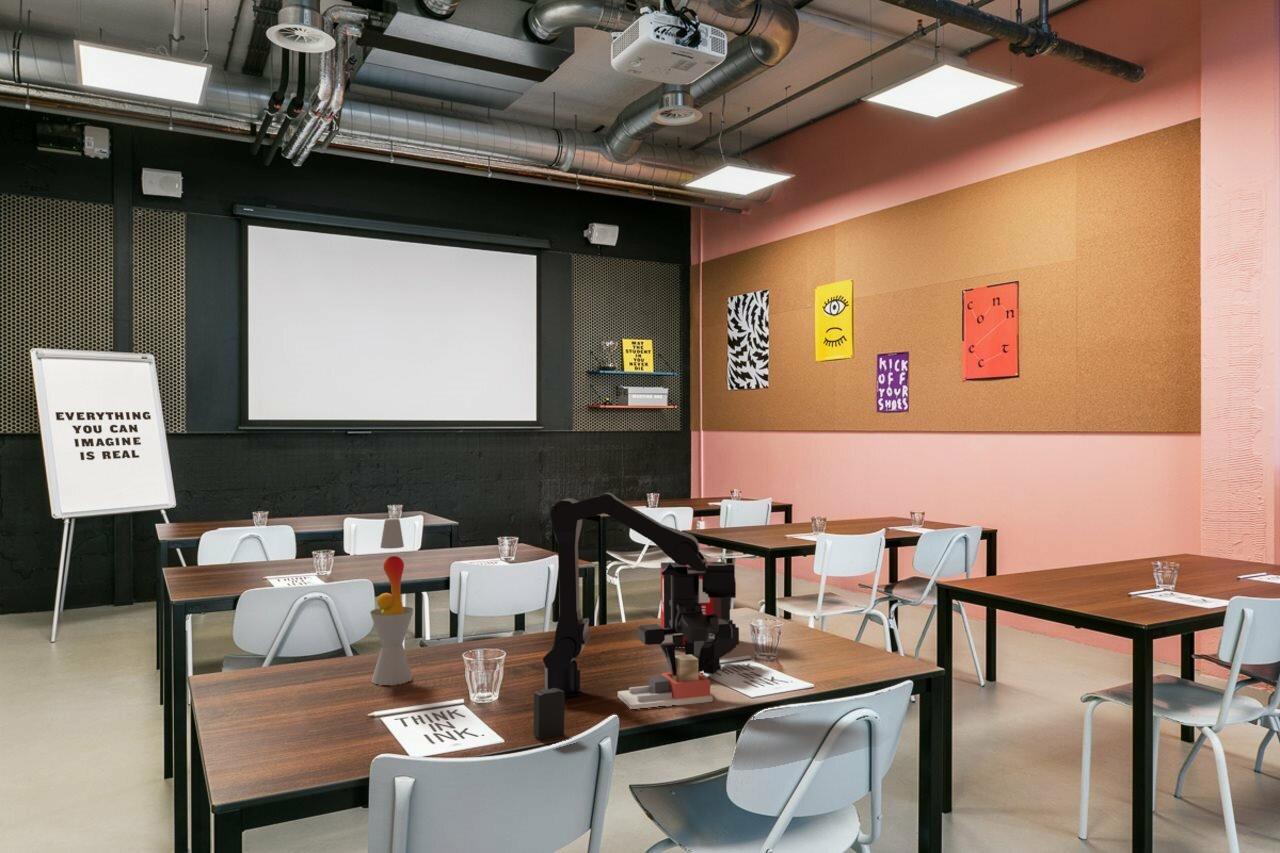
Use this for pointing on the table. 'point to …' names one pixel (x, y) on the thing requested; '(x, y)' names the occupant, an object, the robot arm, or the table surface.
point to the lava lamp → (392, 615)
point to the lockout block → (686, 668)
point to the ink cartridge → (549, 713)
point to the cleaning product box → (707, 603)
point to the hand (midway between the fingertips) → (685, 674)
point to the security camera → (716, 650)
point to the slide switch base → (669, 694)
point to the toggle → (659, 684)
